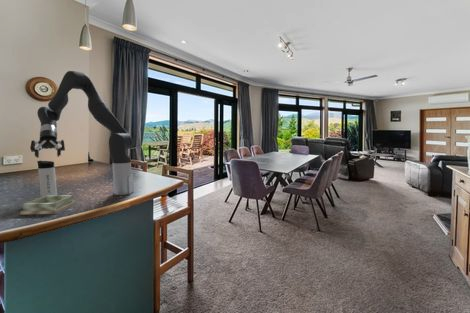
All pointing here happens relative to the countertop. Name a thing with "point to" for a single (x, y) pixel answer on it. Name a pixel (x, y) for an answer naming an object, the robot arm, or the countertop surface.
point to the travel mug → (47, 178)
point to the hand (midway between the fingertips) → (48, 156)
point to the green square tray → (48, 204)
